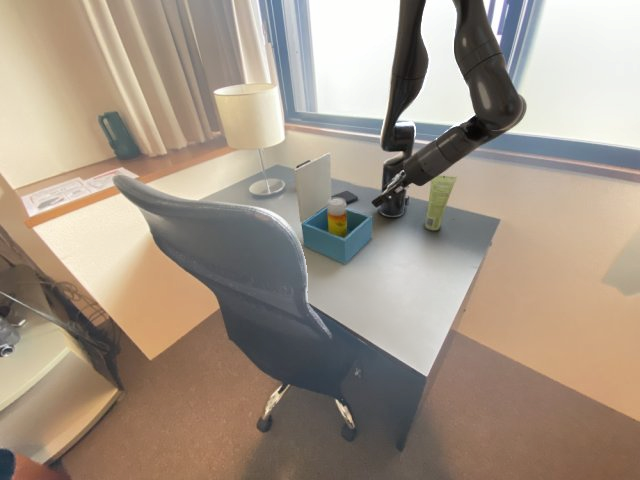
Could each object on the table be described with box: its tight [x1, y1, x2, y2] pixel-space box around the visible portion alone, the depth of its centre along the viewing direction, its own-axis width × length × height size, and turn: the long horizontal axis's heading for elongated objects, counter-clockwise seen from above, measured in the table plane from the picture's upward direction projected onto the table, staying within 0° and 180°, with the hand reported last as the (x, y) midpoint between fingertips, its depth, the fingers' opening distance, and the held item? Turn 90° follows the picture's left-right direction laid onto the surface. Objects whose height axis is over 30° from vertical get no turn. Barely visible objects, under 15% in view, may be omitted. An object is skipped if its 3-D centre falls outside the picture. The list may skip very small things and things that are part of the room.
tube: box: [424, 174, 458, 231], centre depth 91 cm, size 6×5×20 cm
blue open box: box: [301, 206, 373, 265], centre depth 91 cm, size 17×16×9 cm
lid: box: [294, 152, 332, 224], centre depth 88 cm, size 18×16×5 cm
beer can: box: [327, 197, 348, 238], centre depth 88 cm, size 6×6×15 cm
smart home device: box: [317, 190, 359, 213], centre depth 114 cm, size 8×2×20 cm
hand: (379, 197), depth 76 cm, fingers open, 8 cm apart
